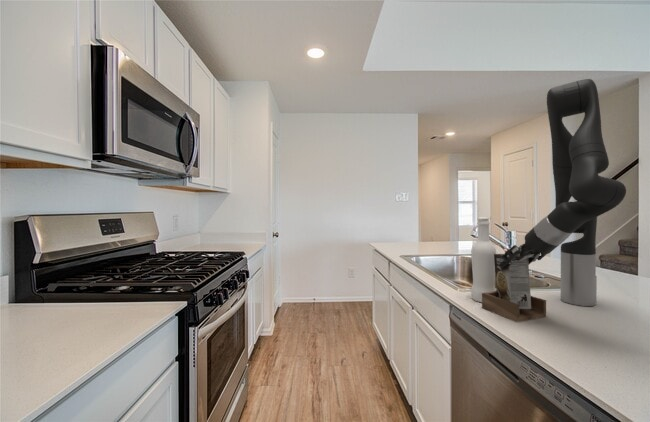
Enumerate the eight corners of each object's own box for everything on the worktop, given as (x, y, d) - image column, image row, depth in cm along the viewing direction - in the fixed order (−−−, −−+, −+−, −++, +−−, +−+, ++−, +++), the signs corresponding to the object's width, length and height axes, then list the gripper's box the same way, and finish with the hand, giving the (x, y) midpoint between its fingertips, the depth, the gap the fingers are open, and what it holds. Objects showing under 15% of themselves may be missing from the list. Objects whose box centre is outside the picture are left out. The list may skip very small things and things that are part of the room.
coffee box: (496, 302, 99) (492, 253, 100) (516, 302, 98) (513, 253, 99) (510, 309, 90) (506, 255, 91) (532, 309, 89) (528, 255, 90)
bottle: (500, 304, 101) (500, 217, 100) (474, 303, 103) (474, 217, 102) (491, 297, 109) (491, 216, 108) (468, 296, 111) (468, 216, 110)
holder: (509, 303, 102) (509, 289, 102) (546, 316, 90) (546, 300, 90) (481, 307, 98) (481, 293, 98) (516, 322, 86) (516, 305, 86)
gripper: (556, 223, 88) (520, 255, 99) (520, 225, 83) (486, 258, 94) (575, 243, 83) (535, 274, 94) (539, 246, 78) (501, 279, 89)
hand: (511, 266), depth 94 cm, fingers closed on coffee box, 8 cm apart
